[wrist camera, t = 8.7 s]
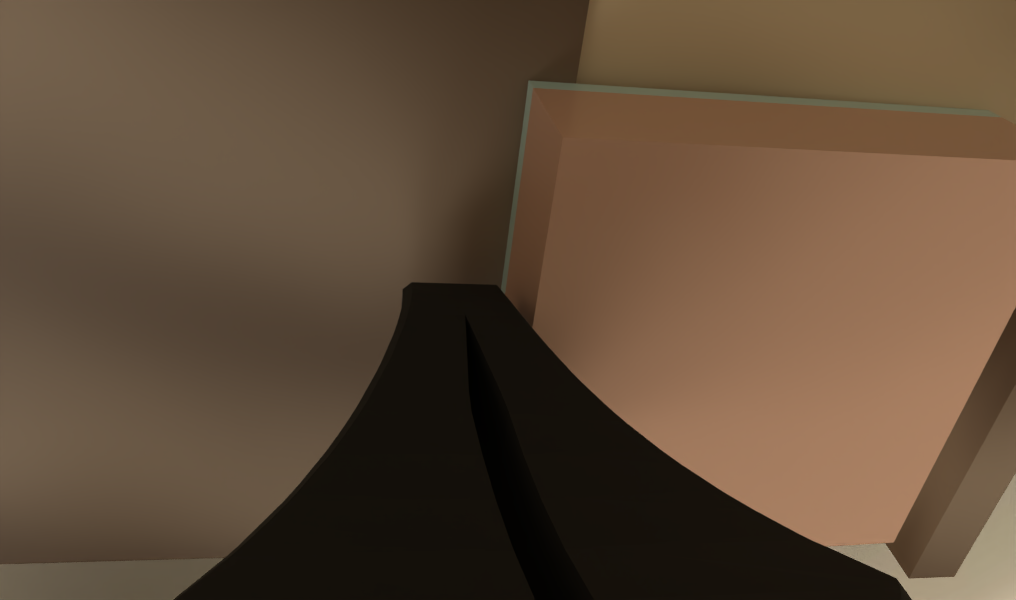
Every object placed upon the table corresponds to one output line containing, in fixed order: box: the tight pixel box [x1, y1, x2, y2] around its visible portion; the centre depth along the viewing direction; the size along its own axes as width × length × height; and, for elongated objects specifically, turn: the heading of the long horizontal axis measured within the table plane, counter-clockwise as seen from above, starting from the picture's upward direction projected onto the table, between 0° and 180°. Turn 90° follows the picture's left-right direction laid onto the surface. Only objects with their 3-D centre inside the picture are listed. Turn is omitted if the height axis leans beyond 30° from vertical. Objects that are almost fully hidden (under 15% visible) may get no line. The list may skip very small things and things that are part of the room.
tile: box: [501, 81, 1016, 546], centre depth 13 cm, size 7×2×7 cm
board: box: [0, 0, 1016, 578], centre depth 12 cm, size 11×27×2 cm, turn 83°
